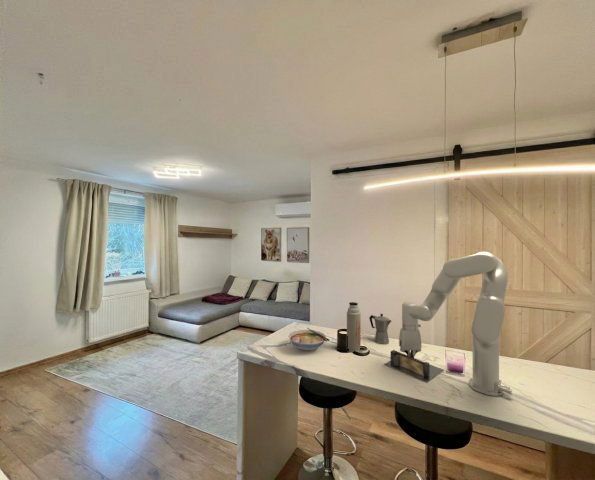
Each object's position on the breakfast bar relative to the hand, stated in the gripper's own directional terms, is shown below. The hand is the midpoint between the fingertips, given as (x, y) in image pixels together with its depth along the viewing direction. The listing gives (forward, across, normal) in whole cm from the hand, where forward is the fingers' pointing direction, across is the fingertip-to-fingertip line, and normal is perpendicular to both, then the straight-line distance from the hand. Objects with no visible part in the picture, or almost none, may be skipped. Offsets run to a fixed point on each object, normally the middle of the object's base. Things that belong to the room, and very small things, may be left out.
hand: (410, 362), depth 133 cm
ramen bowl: (+2, +51, -26) cm, 57 cm away
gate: (+1, +2, +3) cm, 4 cm away
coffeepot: (+2, +3, -35) cm, 35 cm away
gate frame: (+2, -1, 0) cm, 3 cm away
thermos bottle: (+2, +24, -22) cm, 33 cm away
